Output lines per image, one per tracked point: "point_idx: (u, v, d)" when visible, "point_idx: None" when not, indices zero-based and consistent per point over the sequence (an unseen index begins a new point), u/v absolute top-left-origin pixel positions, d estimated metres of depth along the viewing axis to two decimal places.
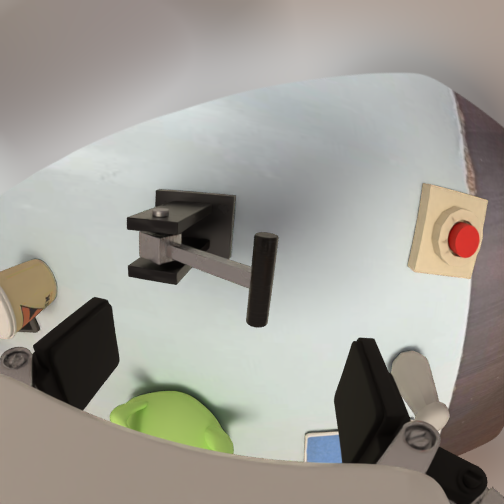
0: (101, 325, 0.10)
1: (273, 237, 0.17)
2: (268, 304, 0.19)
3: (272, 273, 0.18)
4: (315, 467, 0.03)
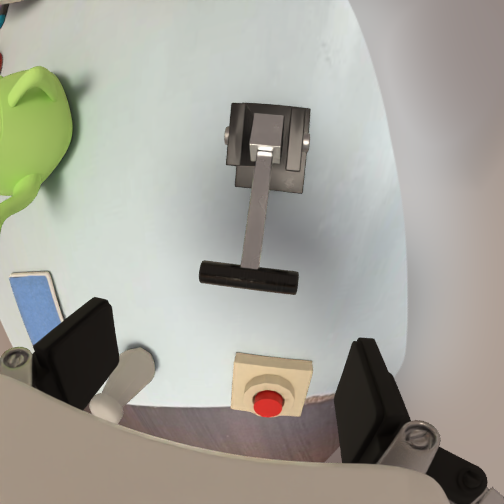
0: (101, 325, 0.10)
1: None
2: None
3: (259, 290, 0.18)
4: (315, 467, 0.03)
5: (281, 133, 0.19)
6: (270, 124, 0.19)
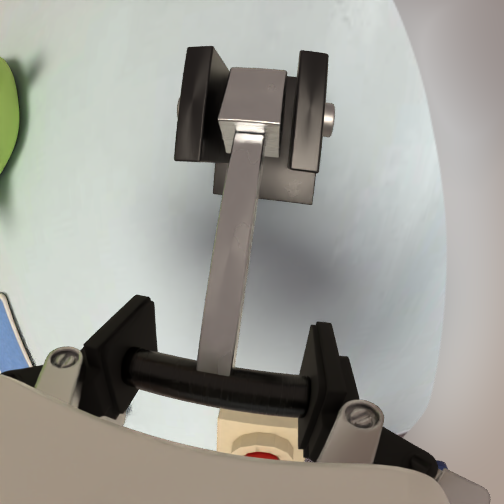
0: (145, 322, 0.10)
1: None
2: None
3: None
4: (315, 467, 0.03)
5: (281, 99, 0.09)
6: (260, 84, 0.10)
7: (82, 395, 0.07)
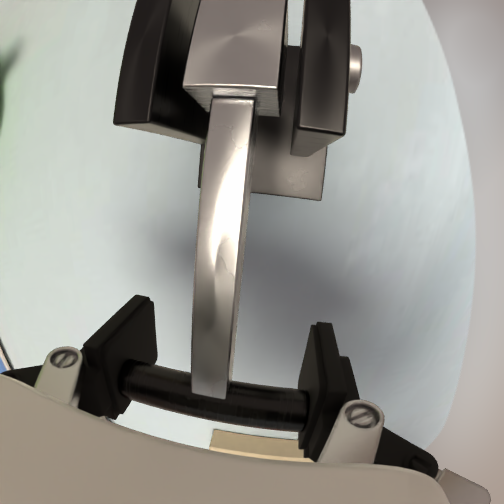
0: (145, 322, 0.10)
1: None
2: None
3: None
4: (315, 467, 0.03)
5: (279, 45, 0.05)
6: (245, 21, 0.05)
7: (82, 396, 0.07)
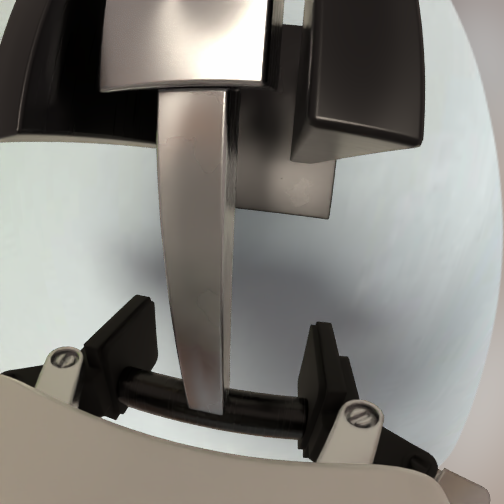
0: (145, 322, 0.10)
1: None
2: None
3: None
4: (315, 467, 0.03)
5: None
6: None
7: (82, 395, 0.07)
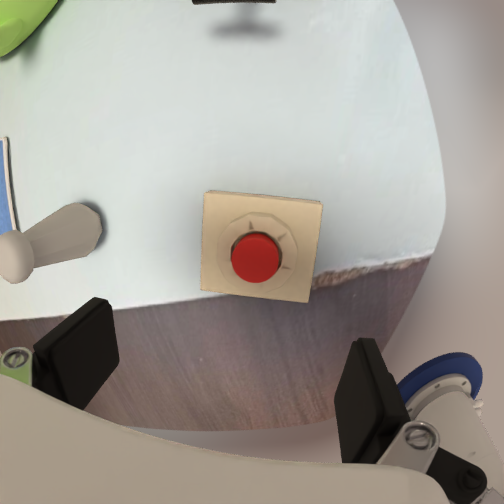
0: (101, 325, 0.10)
1: (275, 0, 0.15)
2: (214, 2, 0.15)
3: (243, 2, 0.15)
4: (315, 467, 0.03)
5: None
6: None
7: None
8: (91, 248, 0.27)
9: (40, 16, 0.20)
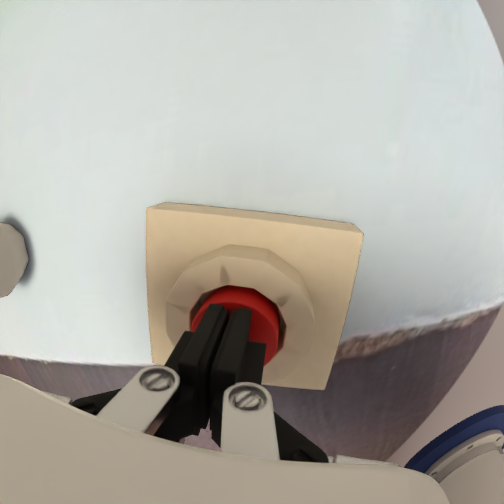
0: (223, 331, 0.10)
1: None
2: None
3: None
4: (315, 467, 0.03)
5: None
6: None
7: (177, 417, 0.07)
8: (9, 286, 0.15)
9: None
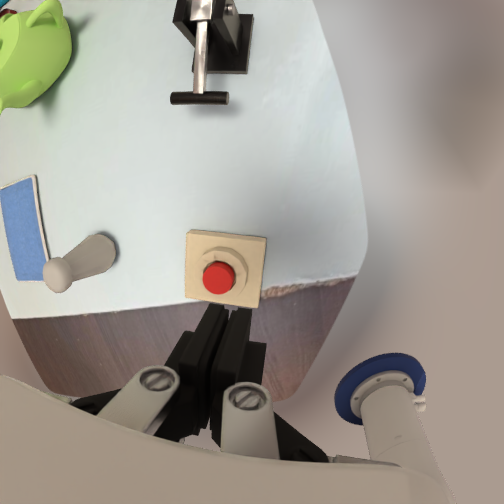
0: (223, 331, 0.10)
1: (227, 103, 0.27)
2: (186, 104, 0.27)
3: (205, 104, 0.27)
4: (315, 467, 0.03)
5: (211, 9, 0.21)
6: (203, 4, 0.20)
7: (176, 417, 0.07)
8: (109, 267, 0.39)
9: (55, 76, 0.32)
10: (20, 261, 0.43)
